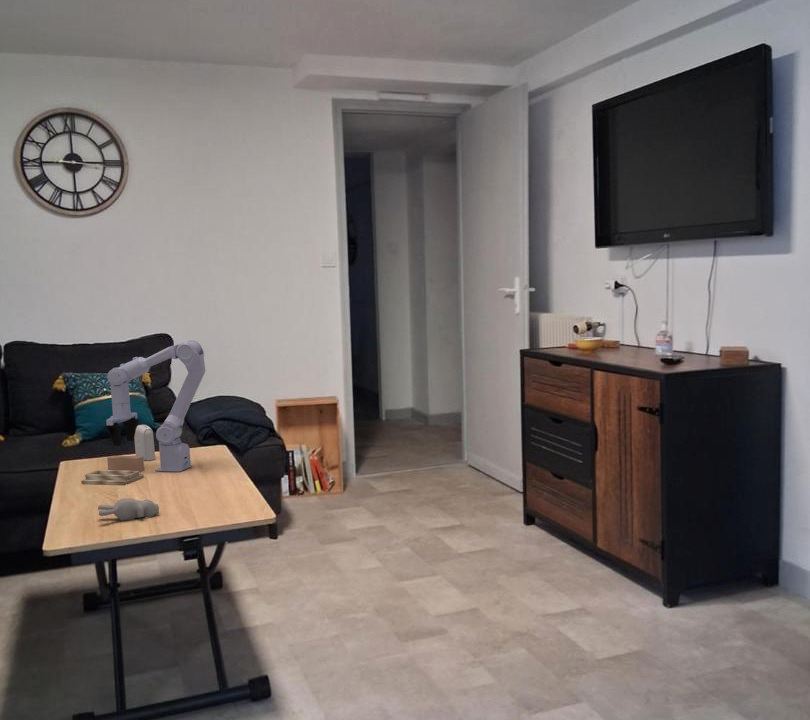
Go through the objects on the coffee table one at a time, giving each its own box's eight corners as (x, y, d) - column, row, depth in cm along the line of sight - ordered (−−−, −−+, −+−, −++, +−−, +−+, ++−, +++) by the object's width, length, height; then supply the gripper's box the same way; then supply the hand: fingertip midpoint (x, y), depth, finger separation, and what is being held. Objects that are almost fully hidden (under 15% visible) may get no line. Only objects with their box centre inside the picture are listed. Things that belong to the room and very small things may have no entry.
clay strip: (144, 470, 274) (143, 456, 274) (139, 473, 272) (138, 458, 271) (113, 470, 278) (112, 455, 277) (108, 472, 275) (107, 457, 274)
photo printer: (134, 457, 297) (131, 424, 296) (145, 455, 299) (143, 422, 298) (145, 461, 289) (142, 427, 288) (156, 459, 292) (154, 425, 290)
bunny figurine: (160, 503, 214) (99, 505, 208) (159, 522, 215) (98, 524, 209) (156, 495, 223) (98, 496, 217) (155, 514, 223) (97, 515, 217)
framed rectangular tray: (143, 477, 264) (143, 469, 263) (125, 485, 254) (124, 477, 254) (101, 476, 268) (100, 468, 268) (81, 483, 258) (80, 476, 258)
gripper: (123, 399, 281) (126, 438, 282) (97, 406, 267) (100, 447, 268) (141, 399, 279) (144, 438, 280) (115, 406, 265) (118, 447, 266)
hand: (124, 443), depth 274 cm, fingers open, 7 cm apart
